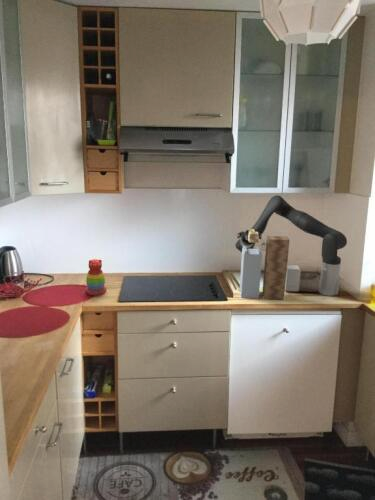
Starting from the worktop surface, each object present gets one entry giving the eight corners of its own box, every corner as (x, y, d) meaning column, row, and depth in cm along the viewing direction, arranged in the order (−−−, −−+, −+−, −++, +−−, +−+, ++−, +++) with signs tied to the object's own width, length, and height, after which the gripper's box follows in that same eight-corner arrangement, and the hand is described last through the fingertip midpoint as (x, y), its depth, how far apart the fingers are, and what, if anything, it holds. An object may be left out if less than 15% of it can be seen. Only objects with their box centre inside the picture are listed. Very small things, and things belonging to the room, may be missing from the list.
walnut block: (281, 295, 228) (286, 236, 219) (283, 300, 221) (289, 239, 212) (262, 294, 228) (266, 235, 219) (264, 299, 221) (269, 239, 212)
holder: (256, 291, 233) (259, 246, 226) (258, 298, 223) (262, 251, 216) (239, 290, 233) (242, 245, 226) (241, 297, 223) (244, 251, 217)
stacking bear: (106, 287, 232) (105, 256, 227) (107, 295, 222) (106, 261, 217) (85, 289, 229) (84, 256, 224) (85, 296, 220) (84, 262, 215)
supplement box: (298, 291, 234) (301, 269, 230) (285, 291, 234) (287, 269, 230) (295, 286, 241) (298, 265, 237) (282, 286, 241) (284, 264, 238)
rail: (254, 234, 230) (255, 226, 229) (258, 242, 216) (258, 234, 214) (246, 234, 230) (246, 226, 229) (249, 242, 216) (249, 233, 215)
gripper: (235, 233, 242) (238, 224, 225) (260, 233, 242) (265, 225, 225) (234, 246, 240) (238, 238, 224) (260, 246, 240) (265, 239, 223)
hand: (251, 231), depth 224 cm, fingers closed on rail, 3 cm apart
